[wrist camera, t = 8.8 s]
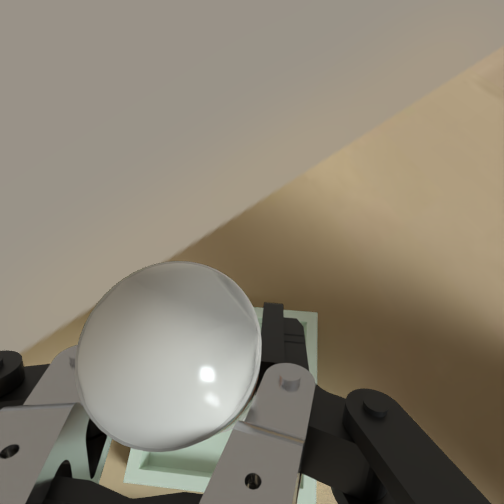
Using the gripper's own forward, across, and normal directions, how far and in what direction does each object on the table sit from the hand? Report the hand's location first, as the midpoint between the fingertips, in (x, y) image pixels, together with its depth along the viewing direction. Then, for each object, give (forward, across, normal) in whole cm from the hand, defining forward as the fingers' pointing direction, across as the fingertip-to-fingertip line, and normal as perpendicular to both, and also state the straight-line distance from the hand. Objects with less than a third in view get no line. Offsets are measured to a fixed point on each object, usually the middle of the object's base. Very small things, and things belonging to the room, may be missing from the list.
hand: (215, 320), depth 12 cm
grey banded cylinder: (+1, 0, +4) cm, 4 cm away
